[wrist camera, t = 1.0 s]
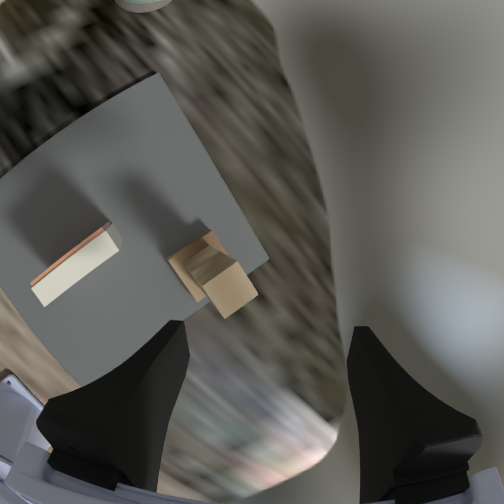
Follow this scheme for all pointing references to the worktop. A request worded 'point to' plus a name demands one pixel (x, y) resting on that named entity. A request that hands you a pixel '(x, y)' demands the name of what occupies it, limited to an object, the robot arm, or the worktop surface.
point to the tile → (77, 263)
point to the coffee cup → (141, 5)
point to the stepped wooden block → (212, 274)
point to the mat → (125, 221)
